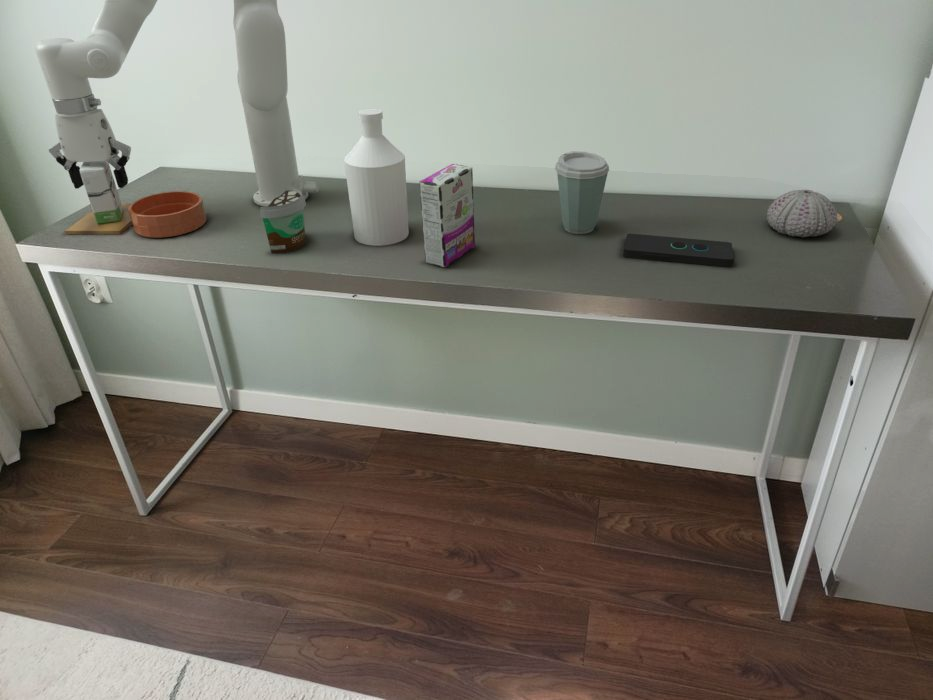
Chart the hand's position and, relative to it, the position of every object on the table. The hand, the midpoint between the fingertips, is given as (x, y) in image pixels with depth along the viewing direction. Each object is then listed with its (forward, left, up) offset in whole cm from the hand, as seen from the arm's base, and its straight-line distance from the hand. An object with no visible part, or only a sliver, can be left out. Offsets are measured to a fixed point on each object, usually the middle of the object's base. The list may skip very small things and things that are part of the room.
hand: (101, 186), depth 151 cm
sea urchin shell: (-148, +5, -8) cm, 148 cm away
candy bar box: (-77, +18, -8) cm, 79 cm away
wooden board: (0, 0, -8) cm, 8 cm away
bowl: (-15, +3, -8) cm, 17 cm away
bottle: (-62, +8, -8) cm, 63 cm away
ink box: (0, 0, -7) cm, 7 cm away
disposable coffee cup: (-103, +5, -8) cm, 103 cm away
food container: (-45, +13, -8) cm, 47 cm away
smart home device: (-121, +17, -8) cm, 122 cm away
